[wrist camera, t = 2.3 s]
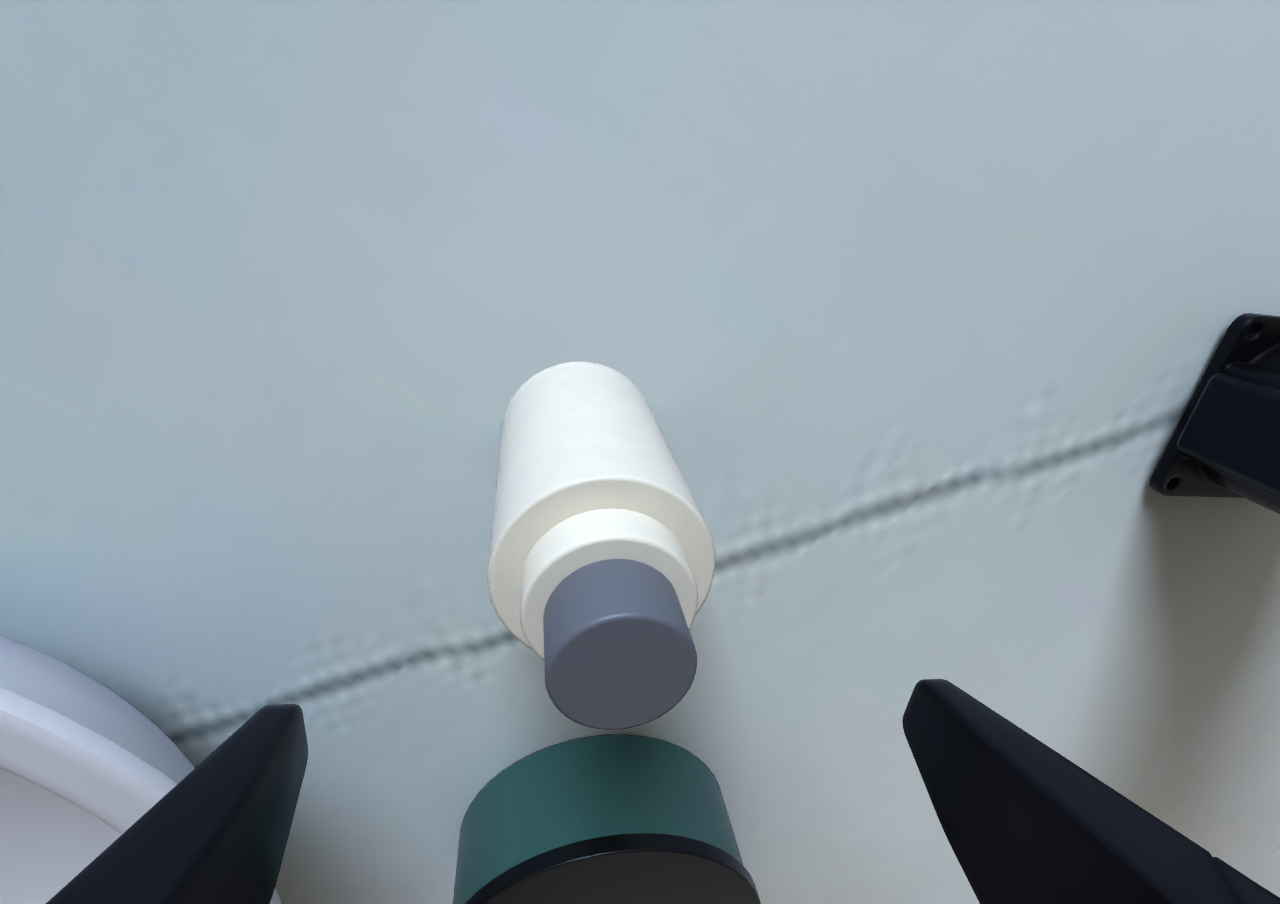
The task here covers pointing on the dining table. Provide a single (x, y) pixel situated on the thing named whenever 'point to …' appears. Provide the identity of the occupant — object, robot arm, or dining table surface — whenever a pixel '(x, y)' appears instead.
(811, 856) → the dining table surface
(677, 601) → the bottle
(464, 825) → the enamel tin
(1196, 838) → the dining table surface
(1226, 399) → the robot arm
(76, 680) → the soup bowl
